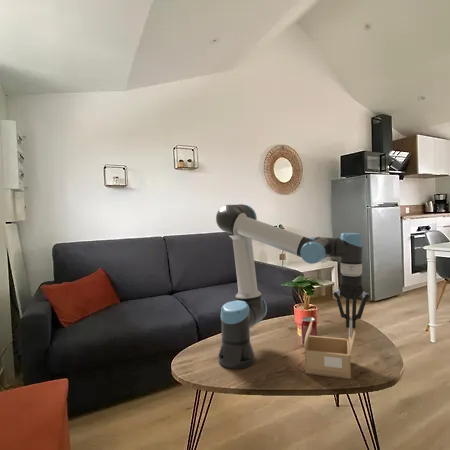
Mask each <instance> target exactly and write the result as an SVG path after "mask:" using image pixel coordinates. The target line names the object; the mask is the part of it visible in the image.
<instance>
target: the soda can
mask: <svg viewBox="0 0 450 450" xmlns="http://www.w3.org/2000/svg"><path fill="white" fill-rule="evenodd" d="M311 319H312V320H313V321H312V328H311V333H310V335H311V336H318V332H317V330H318V328H317V327H318V325H317V321H316V319H315V317H314V316H313V317H312V316H304V317H302V320H301V322H300V328H301V329H300V330H301V331H300V332H301V336H300V338H301V345H303V346H304V342H305V336H306V333H307V330H308V327H309V325H310V322H311Z"/></svg>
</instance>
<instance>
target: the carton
mask: <svg viewBox="0 0 450 450" xmlns="http://www.w3.org/2000/svg"><path fill="white" fill-rule="evenodd" d="M351 357H352V356H351V351H350V344H349V338H348V339H347V338H342V337H331V336H322V335H321V336H319V335H317V336H311V335H310V336H309V338H308V341H307V344H306V346H305V348H304V374H306V375H312V376H320V377H327V378H336V379H342V380H343V379H344V380H352V371H351V369H352V368H351V364H352V362H351V361H352V360H351Z"/></svg>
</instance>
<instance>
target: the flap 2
mask: <svg viewBox="0 0 450 450" xmlns="http://www.w3.org/2000/svg"><path fill="white" fill-rule="evenodd" d="M356 334H357V333H356V327H355V328H352V337H349V336H348V341H349V348H350V354H351V353H353V350H354V346H355V340H356Z"/></svg>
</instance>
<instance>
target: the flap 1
mask: <svg viewBox="0 0 450 450" xmlns="http://www.w3.org/2000/svg"><path fill="white" fill-rule="evenodd" d="M312 321H313V320H312V319H311V322H310V325H309V327H308V330H307V333H306V336H305V342H304V345H303V348H304V349H305V346H306V344H307V341H308V338H309V336H310V333H311V328H312Z"/></svg>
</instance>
